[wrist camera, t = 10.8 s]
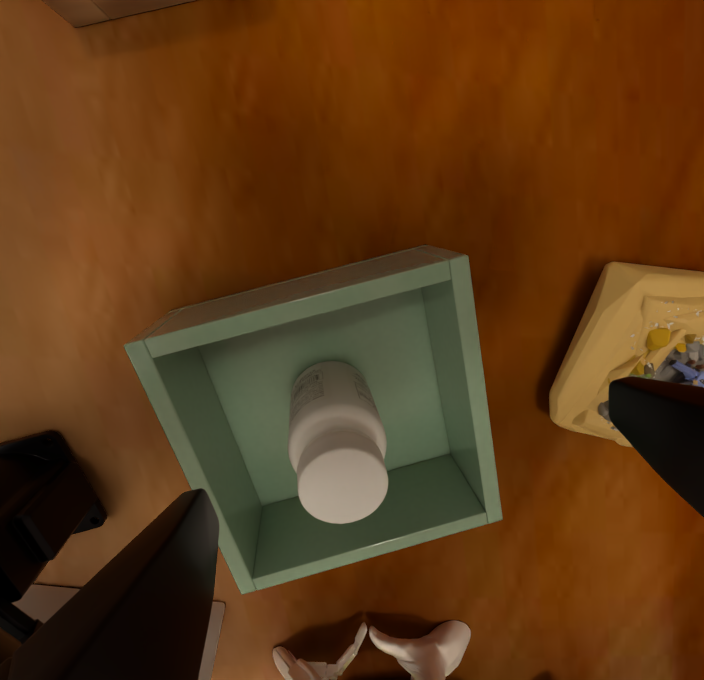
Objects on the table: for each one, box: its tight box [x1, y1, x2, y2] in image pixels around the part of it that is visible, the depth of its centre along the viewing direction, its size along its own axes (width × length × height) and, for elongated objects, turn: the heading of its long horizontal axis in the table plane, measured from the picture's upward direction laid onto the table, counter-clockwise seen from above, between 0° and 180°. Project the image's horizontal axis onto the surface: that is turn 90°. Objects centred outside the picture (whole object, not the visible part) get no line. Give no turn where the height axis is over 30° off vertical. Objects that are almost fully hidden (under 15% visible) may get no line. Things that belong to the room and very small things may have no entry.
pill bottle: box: [288, 361, 388, 524], centre depth 18 cm, size 4×4×8 cm
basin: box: [124, 244, 503, 595], centre depth 19 cm, size 14×14×6 cm
